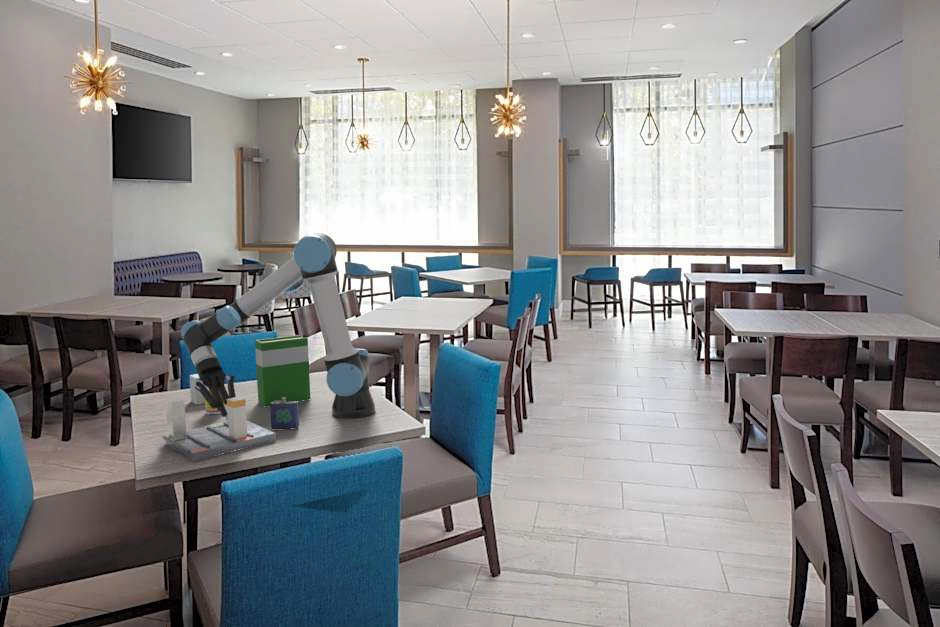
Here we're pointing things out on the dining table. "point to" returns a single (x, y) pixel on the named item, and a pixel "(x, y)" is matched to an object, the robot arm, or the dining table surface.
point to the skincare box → (195, 390)
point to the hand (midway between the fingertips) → (232, 423)
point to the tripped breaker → (237, 417)
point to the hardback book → (282, 369)
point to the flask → (284, 414)
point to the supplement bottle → (209, 409)
